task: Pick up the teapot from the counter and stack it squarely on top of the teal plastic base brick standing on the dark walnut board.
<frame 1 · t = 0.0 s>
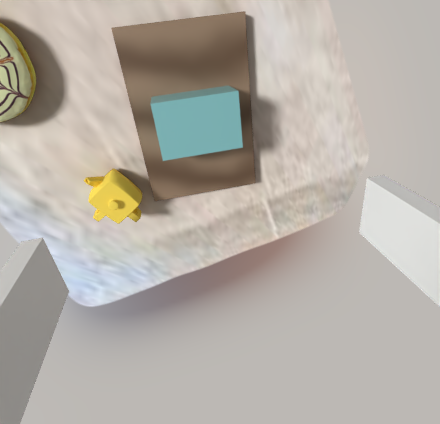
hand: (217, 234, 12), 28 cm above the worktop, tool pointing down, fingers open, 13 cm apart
walnut board: (193, 115, 37), on the worktop
base brick: (196, 121, 34), on the walnut board, point 4 cm above the worktop
teapot: (114, 189, 40), on the worktop
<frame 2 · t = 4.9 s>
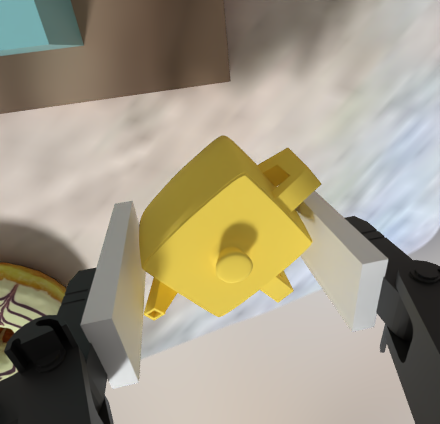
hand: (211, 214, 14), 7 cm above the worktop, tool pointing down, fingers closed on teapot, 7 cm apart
decorated donut: (15, 307, 23), on the worktop
teapot: (217, 206, 14), point 6 cm above the worktop, touching gripper
when the fingers open (7 cm above the worktop, at t = 8.9 s): teapot stays where it is, resting on base brick.
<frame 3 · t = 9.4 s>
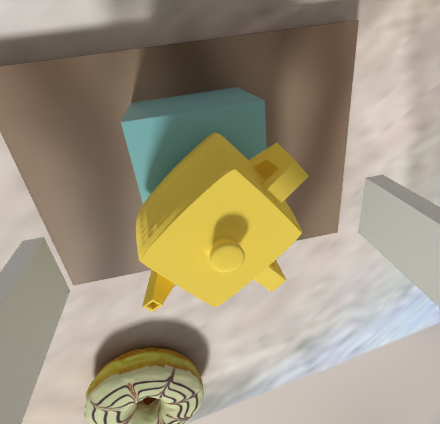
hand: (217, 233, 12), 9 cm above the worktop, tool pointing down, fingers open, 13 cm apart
walnut board: (195, 163, 20), on the worktop
base brick: (202, 186, 17), on the walnut board, point 4 cm above the worktop
decorated donut: (147, 374, 30), on the worktop
teapot: (211, 201, 15), point 6 cm above the worktop, touching base brick
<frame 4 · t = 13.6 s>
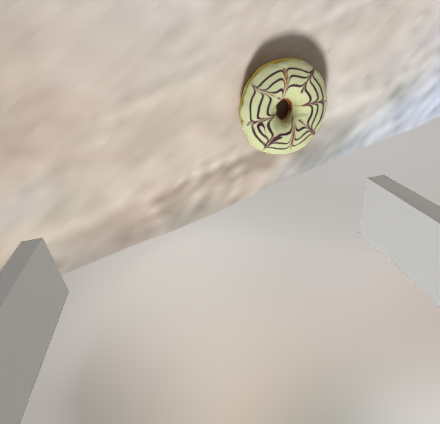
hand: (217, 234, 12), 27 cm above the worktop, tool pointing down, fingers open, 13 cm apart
decorated donut: (276, 106, 38), on the worktop
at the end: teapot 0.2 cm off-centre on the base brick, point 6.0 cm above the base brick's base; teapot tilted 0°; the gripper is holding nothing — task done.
